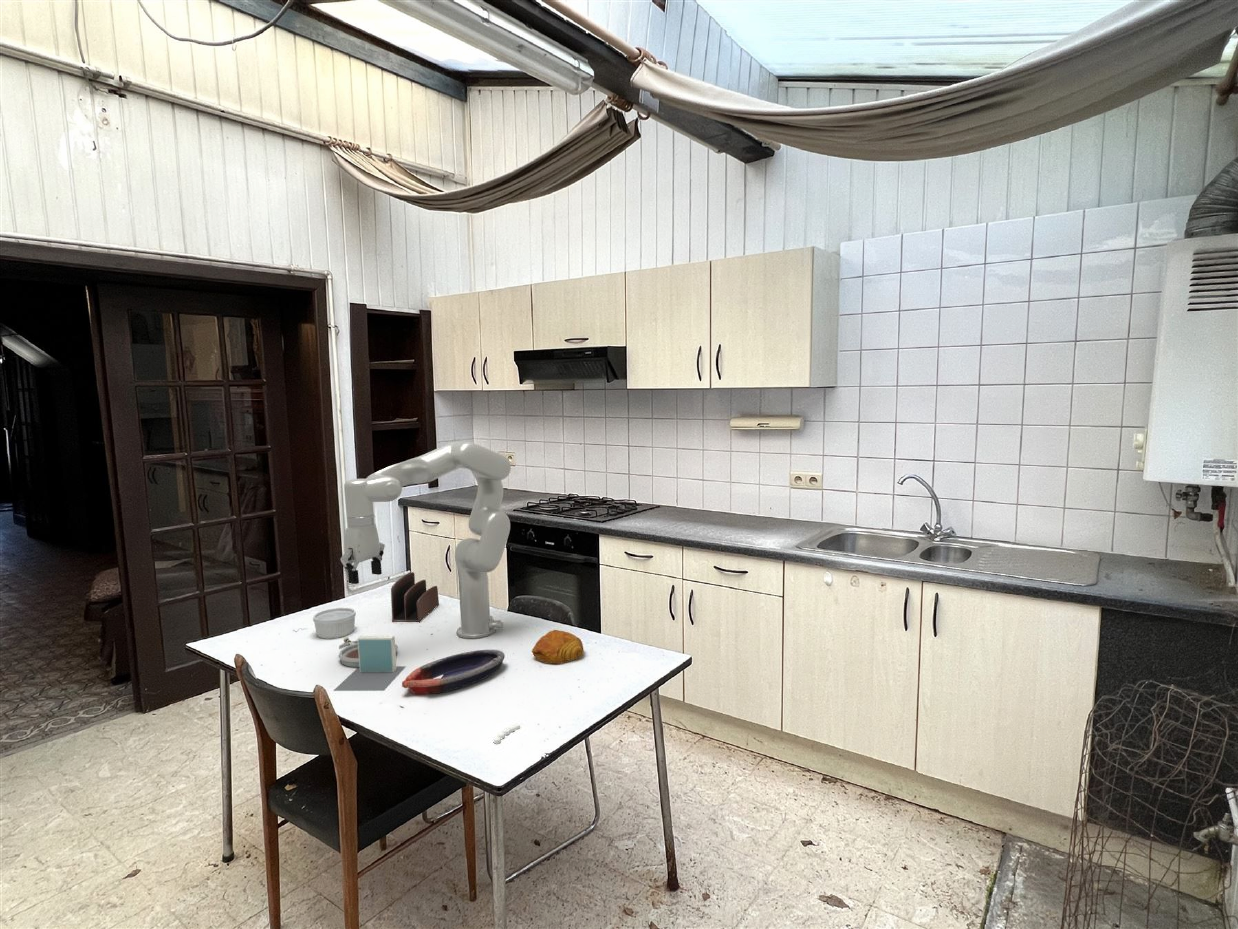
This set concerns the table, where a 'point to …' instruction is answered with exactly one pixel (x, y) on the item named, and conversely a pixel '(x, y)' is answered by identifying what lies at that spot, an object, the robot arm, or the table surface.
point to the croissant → (558, 647)
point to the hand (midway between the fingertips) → (365, 578)
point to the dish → (454, 671)
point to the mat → (368, 680)
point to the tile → (377, 653)
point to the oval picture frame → (351, 653)
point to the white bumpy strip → (505, 732)
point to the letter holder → (412, 599)
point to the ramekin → (334, 622)
